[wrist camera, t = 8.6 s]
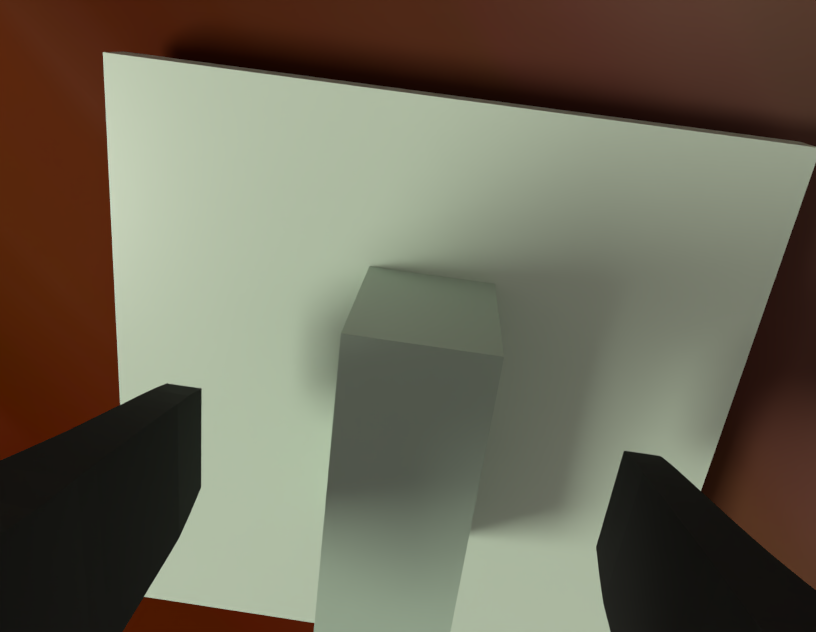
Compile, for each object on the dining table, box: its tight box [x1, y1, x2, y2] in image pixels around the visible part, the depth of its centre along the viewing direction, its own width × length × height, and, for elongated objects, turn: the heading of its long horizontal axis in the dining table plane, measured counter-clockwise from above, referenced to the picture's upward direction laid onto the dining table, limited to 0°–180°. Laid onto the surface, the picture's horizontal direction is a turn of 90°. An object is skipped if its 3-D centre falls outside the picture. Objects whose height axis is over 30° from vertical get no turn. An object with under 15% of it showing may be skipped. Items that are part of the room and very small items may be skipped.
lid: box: [103, 52, 816, 632], centre depth 13 cm, size 12×12×5 cm
